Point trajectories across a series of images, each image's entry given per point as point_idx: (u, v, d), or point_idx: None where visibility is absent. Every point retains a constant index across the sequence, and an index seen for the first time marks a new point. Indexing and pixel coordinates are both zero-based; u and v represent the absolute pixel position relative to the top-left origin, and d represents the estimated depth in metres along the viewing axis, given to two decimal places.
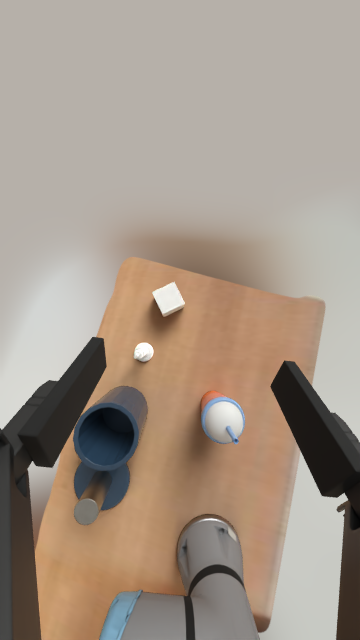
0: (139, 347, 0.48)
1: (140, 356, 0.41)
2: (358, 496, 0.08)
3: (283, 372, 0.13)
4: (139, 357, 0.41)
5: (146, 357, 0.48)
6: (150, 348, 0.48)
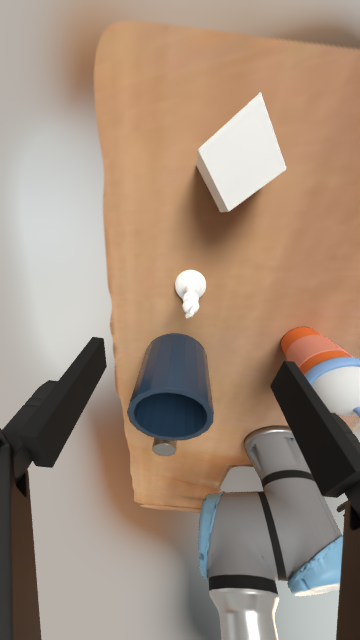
0: (182, 280, 0.28)
1: (195, 309, 0.22)
2: (358, 496, 0.08)
3: (283, 372, 0.13)
4: (193, 311, 0.23)
5: (196, 294, 0.29)
6: (200, 279, 0.28)
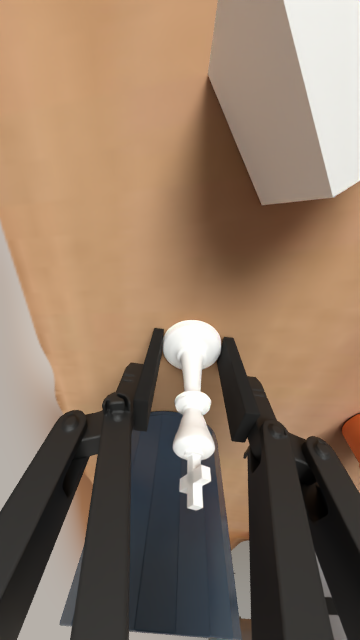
0: (176, 341, 0.14)
1: (205, 456, 0.09)
2: (252, 442, 0.09)
3: (223, 347, 0.15)
4: None
5: (203, 364, 0.15)
6: (211, 340, 0.14)
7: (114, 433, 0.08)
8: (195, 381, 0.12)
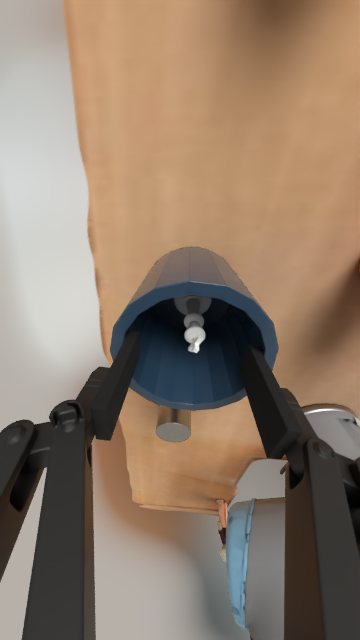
0: None
1: None
2: (293, 457, 0.09)
3: (247, 355, 0.14)
4: None
5: (200, 310, 0.24)
6: None
7: (66, 444, 0.07)
8: (195, 312, 0.20)
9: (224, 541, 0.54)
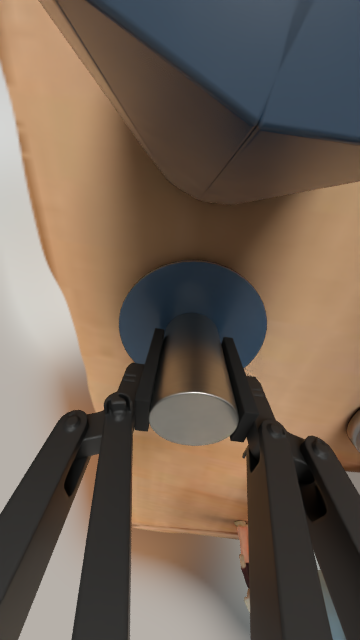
0: None
1: None
2: (251, 441, 0.09)
3: (222, 347, 0.15)
4: None
5: None
6: None
7: (115, 433, 0.08)
8: None
9: None
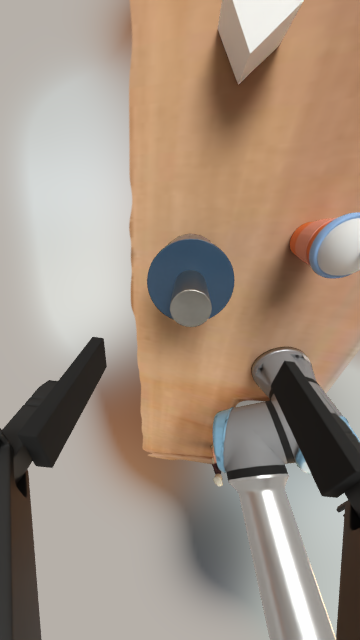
0: None
1: None
2: (358, 496, 0.08)
3: (283, 372, 0.13)
4: None
5: None
6: None
7: None
8: None
9: (216, 472, 0.68)
